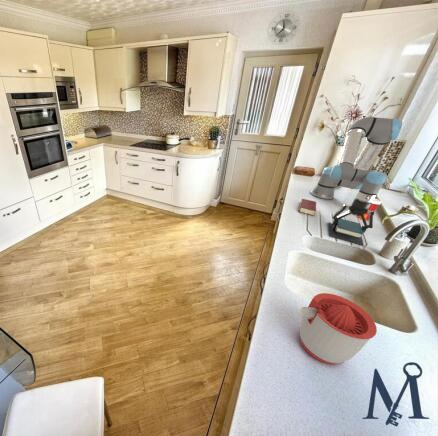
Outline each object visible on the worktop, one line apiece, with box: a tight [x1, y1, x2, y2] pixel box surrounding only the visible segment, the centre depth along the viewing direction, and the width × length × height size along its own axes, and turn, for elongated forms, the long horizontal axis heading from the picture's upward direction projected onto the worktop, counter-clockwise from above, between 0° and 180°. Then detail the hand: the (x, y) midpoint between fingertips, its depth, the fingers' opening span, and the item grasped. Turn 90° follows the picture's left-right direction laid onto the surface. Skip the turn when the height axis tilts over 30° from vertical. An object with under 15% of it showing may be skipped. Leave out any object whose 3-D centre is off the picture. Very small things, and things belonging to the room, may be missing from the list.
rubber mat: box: [328, 222, 364, 247], centre depth 139 cm, size 18×16×1 cm
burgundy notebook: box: [298, 198, 317, 217], centre depth 165 cm, size 17×9×4 cm, turn 146°
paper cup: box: [357, 198, 382, 222], centre depth 154 cm, size 8×8×14 cm
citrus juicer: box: [298, 292, 378, 365], centre depth 72 cm, size 16×17×20 cm
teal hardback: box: [335, 218, 364, 238], centre depth 137 cm, size 14×12×3 cm
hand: (345, 232), depth 139 cm, fingers closed on teal hardback, 11 cm apart
